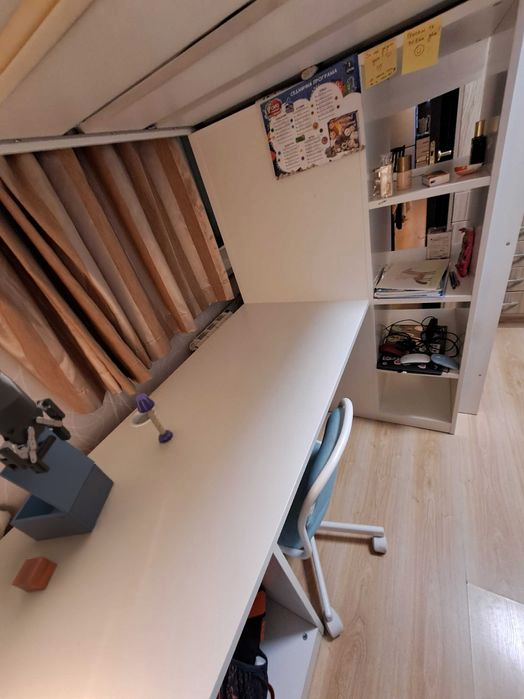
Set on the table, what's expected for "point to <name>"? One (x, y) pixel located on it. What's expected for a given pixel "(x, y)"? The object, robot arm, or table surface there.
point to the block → (34, 574)
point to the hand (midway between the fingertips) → (57, 454)
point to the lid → (54, 472)
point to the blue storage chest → (52, 522)
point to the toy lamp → (152, 416)
